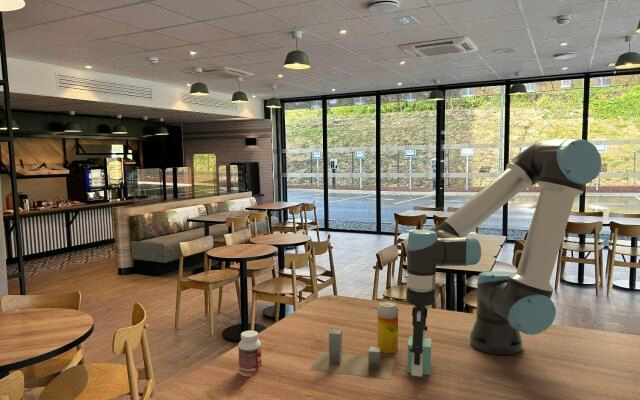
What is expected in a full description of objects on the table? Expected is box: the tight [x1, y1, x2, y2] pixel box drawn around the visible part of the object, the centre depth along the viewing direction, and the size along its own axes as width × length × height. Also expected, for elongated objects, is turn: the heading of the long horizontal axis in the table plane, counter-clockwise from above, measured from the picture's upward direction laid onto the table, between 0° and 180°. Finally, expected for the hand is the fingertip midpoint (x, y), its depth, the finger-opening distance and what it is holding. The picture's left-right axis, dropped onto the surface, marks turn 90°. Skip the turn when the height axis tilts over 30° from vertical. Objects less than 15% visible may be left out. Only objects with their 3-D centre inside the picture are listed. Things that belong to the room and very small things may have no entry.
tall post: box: [328, 328, 343, 365], centre depth 132 cm, size 3×3×9 cm
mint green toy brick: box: [406, 335, 432, 376], centre depth 128 cm, size 6×6×9 cm
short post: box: [367, 346, 382, 370], centre depth 129 cm, size 3×3×5 cm
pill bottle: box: [238, 330, 262, 378], centre depth 129 cm, size 6×6×11 cm
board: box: [309, 350, 396, 380], centre depth 131 cm, size 22×12×1 cm, turn 75°
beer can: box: [376, 300, 399, 354], centre depth 140 cm, size 6×6×15 cm
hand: (418, 363), depth 128 cm, fingers open, 13 cm apart
